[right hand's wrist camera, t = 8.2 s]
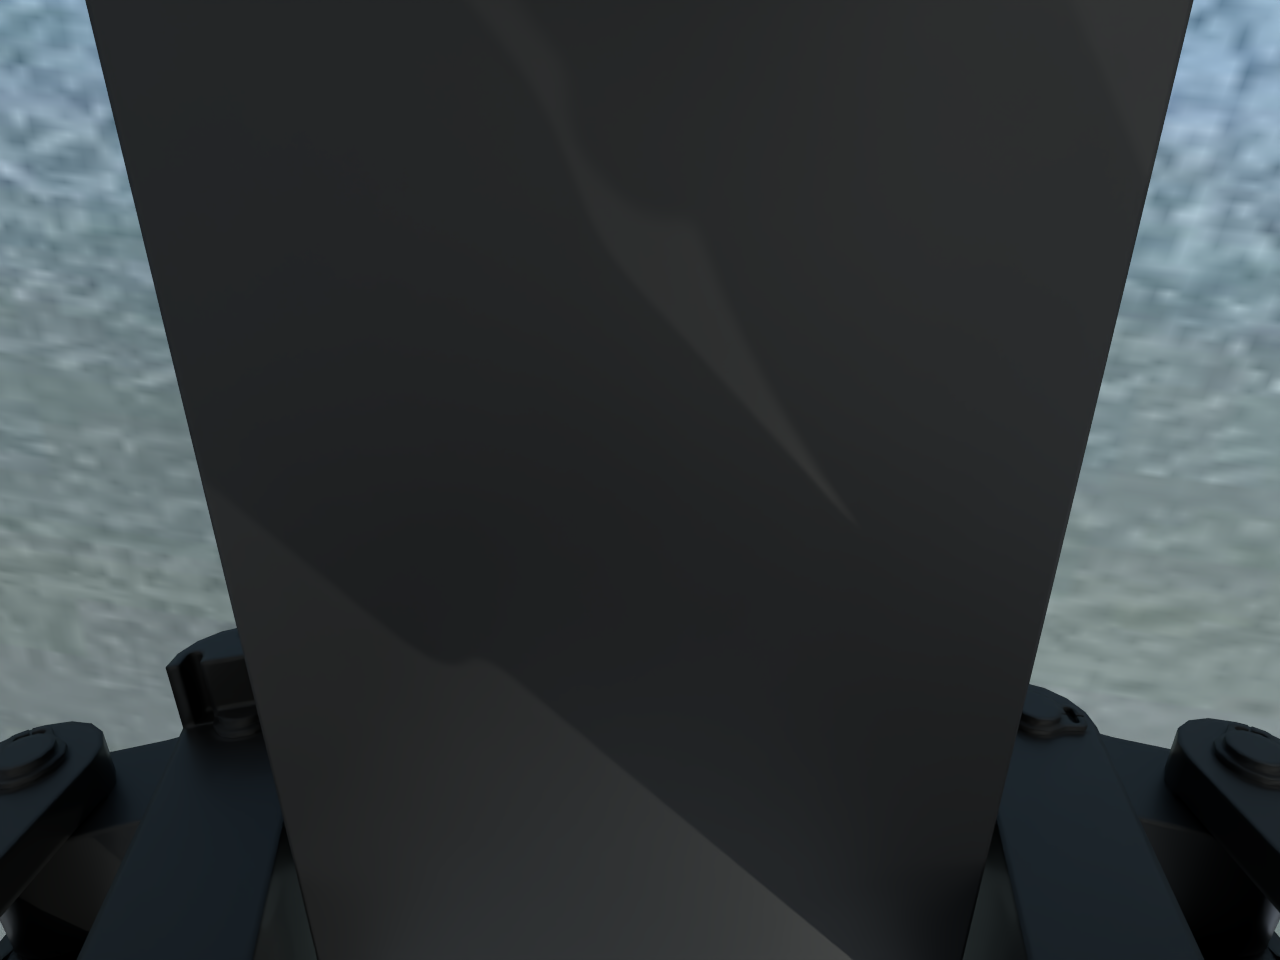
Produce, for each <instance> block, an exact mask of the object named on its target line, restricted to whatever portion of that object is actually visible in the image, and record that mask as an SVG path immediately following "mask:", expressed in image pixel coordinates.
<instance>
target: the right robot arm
mask: <svg viewBox="0 0 1280 960" xmlns="http://www.w3.org/2000/svg"><path fill="white" fill-rule="evenodd" d="M166 670H167V674H168V677H169V681H170V684H171V688H172V691H173V694H174V698H175V701H176V705H177V708H178V712H179V715H180V718H181V722H182V725H183V730H182V732H181V734H180V736H179V737H177V738H174V739H170V740H166V741H161V742H157V743H152V744H147V745H142V746H138V747H133V748H128V749H123V750H118V751H114V752H109V749H108V746H107V743H106V740H105V737H104V735H103V732H102V731H101V730H100V729H98V728H97V727H96V726H94V725H93V724H91V723H82V722H73V721H71V722H64V723H57V724H51V725H44V726H40V727H36V728H33V729H32V730H26V731H24V732H21V733H18V734H15V735H13V736H12V737H10V738H9V739H7V740H5V741H2V742H0V921H1V923H2V926H3V928H4V930H5V932H6V935H5V936H4V937H3V939H2V940H1V941H0V960H317V957H316V953H315V948H314V944H313V940H312V936H311V932H310V928H309V924H308V919H307V915H306V911H305V907H304V903H303V899H302V895H301V890H300V886H299V882H298V878H297V874H296V870H295V866H294V862H293V857H292V853H291V849H290V845H289V841H288V837H287V833H286V828H285V824H284V820H283V816H282V812H281V808H280V804H279V799H278V795H277V791H276V787H275V783H274V779H273V775H272V770H271V766H270V762H269V758H268V754H267V750H266V746H265V741H264V737H263V733H262V729H261V725H260V721H259V717H258V713H257V708H256V704H255V700H254V696H253V692H252V688H251V684H250V679H249V675H248V671H247V667H246V663H245V659H244V655H243V650H242V646H241V642H240V638H239V634H238V630H237V628H236V629H231V630H227V631H222V632H220V633H217V634H215V635H212V636H210V637H207V638H205V639H202V640H200V641H197V642H196V643H194V644H193V645H191V646H189V647H188V648H186V649H185V650H183V651H182V652H180V653H178V654H177V655H176V657H175V658H174V659H173V660H172V661H171V662H170V663H169V664H168V665H167V667H166ZM1279 920H1280V739H1279V738H1277V737H1275V736H1273V735H1271V734H1269V733H1268V732H1266V731H1263V730H1260V729H1258V728H1255V727H1249V726H1248V725H1245V724H1241V723H1237V722H1231V721H1224V720H1218V719H1211V718H1206V719H1197V720H1189V721H1187V722H1186V723H1185V724H1183V725H1182V726H1180V727H1179V728H1178V730H1177V733H1176V736H1175V739H1174V741H1173V744H1172V747H1171V749H1167V748H1162V747H1157V746H1152V745H1147V744H1143V743H1138V742H1133V741H1128V740H1123V739H1119V738H1114V737H1110V736H1106V735H1103V734H1100V733H1099V731H1098V729H1097V727H1096V725H1095V724H1094V723H1093V722H1092V720H1091V719H1090V718H1089V716H1088V715H1087V714H1086V712H1084V711H1083V710H1082V709H1080V708H1079V707H1078V706H1076V705H1075V704H1074V703H1072V702H1071V701H1070V700H1068V699H1067V698H1065V697H1062V696H1060V695H1058V694H1056V693H1054V692H1052V691H1049V690H1047V689H1045V688H1042V687H1038V686H1034V685H1031V684H1029V686H1028V690H1027V694H1026V698H1025V702H1024V707H1023V711H1022V715H1021V719H1020V723H1019V727H1018V732H1017V736H1016V740H1015V744H1014V748H1013V752H1012V756H1011V761H1010V765H1009V769H1008V773H1007V777H1006V781H1005V786H1004V790H1003V794H1002V798H1001V802H1000V806H999V811H998V815H997V819H996V823H995V827H994V831H993V835H992V840H991V844H990V848H989V852H988V856H987V860H986V865H985V869H984V873H983V877H982V881H981V885H980V890H979V894H978V898H977V902H976V906H975V910H974V914H973V919H972V923H971V927H970V931H969V935H968V939H967V944H966V948H965V952H964V956H963V960H1280V937H1279V936H1278V935H1277V934H1276V933H1275V931H1274V930H1275V928H1276V926H1277V924H1278V922H1279Z"/></svg>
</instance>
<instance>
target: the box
mask: <svg viewBox="0 0 1280 960" xmlns="http://www.w3.org/2000/svg"><path fill="white" fill-rule="evenodd" d="M85 1H86V5H87V9H88V13H89V17H90V21H91V25H92V30H93V34H94V38H95V42H96V46H97V50H98V54H99V59H100V63H101V67H102V71H103V75H104V79H105V83H106V88H107V92H108V96H109V100H110V104H111V108H112V112H113V117H114V121H115V125H116V129H117V133H118V137H119V141H120V145H121V150H122V154H123V158H124V162H125V166H126V170H127V174H128V179H129V183H130V187H131V191H132V195H133V199H134V203H135V208H136V212H137V216H138V220H139V224H140V228H141V232H142V237H143V241H144V245H145V249H146V253H147V257H148V261H149V266H150V270H151V274H152V278H153V282H154V286H155V290H156V294H157V299H158V303H159V307H160V311H161V315H162V319H163V323H164V328H165V332H166V336H167V340H168V344H169V348H170V352H171V357H172V361H173V365H174V369H175V373H176V377H177V381H178V386H179V390H180V394H181V398H182V402H183V406H184V410H185V415H186V419H187V423H188V427H189V431H190V435H191V439H192V443H193V448H194V452H195V456H196V460H197V464H198V468H199V472H200V477H201V481H202V485H203V489H204V493H205V497H206V501H207V506H208V510H209V514H210V518H211V522H212V526H213V530H214V535H215V539H216V543H217V547H218V551H219V555H220V559H221V564H222V568H223V572H224V576H225V580H226V584H227V588H228V592H229V597H230V601H231V605H232V609H233V613H234V617H235V621H236V626H237V630H238V634H239V638H240V642H241V646H242V650H243V655H244V659H245V663H246V667H247V671H248V675H249V679H250V684H251V688H252V692H253V696H254V700H255V704H256V708H257V713H258V717H259V721H260V725H261V729H262V733H263V737H264V741H265V746H266V750H267V754H268V758H269V762H270V766H271V770H272V775H273V779H274V783H275V787H276V791H277V795H278V799H279V804H280V808H281V812H282V816H283V820H284V824H285V828H286V833H287V837H288V841H289V845H290V849H291V853H292V857H293V862H294V866H295V870H296V874H297V878H298V882H299V886H300V890H301V895H302V899H303V903H304V907H305V911H306V915H307V919H308V924H309V928H310V932H311V936H312V940H313V944H314V948H315V953H316V957H317V960H963V956H964V952H965V948H966V944H967V939H968V935H969V931H970V927H971V923H972V919H973V914H974V910H975V906H976V902H977V898H978V894H979V890H980V885H981V881H982V877H983V873H984V869H985V865H986V860H987V856H988V852H989V848H990V844H991V840H992V835H993V831H994V827H995V823H996V819H997V815H998V811H999V806H1000V802H1001V798H1002V794H1003V790H1004V786H1005V781H1006V777H1007V773H1008V769H1009V765H1010V761H1011V756H1012V752H1013V748H1014V744H1015V740H1016V736H1017V732H1018V727H1019V723H1020V719H1021V715H1022V711H1023V707H1024V702H1025V698H1026V694H1027V690H1028V686H1029V682H1030V677H1031V673H1032V669H1033V665H1034V661H1035V657H1036V653H1037V648H1038V644H1039V640H1040V636H1041V632H1042V628H1043V623H1044V619H1045V615H1046V611H1047V607H1048V603H1049V599H1050V594H1051V590H1052V586H1053V582H1054V578H1055V574H1056V569H1057V565H1058V561H1059V557H1060V553H1061V549H1062V544H1063V540H1064V536H1065V532H1066V528H1067V524H1068V520H1069V515H1070V511H1071V507H1072V503H1073V499H1074V495H1075V490H1076V486H1077V482H1078V478H1079V474H1080V470H1081V465H1082V461H1083V457H1084V453H1085V449H1086V445H1087V441H1088V436H1089V432H1090V428H1091V424H1092V420H1093V416H1094V411H1095V407H1096V403H1097V399H1098V395H1099V391H1100V386H1101V382H1102V378H1103V374H1104V370H1105V366H1106V362H1107V357H1108V353H1109V349H1110V345H1111V341H1112V337H1113V332H1114V328H1115V324H1116V320H1117V316H1118V312H1119V308H1120V303H1121V299H1122V295H1123V291H1124V287H1125V283H1126V278H1127V274H1128V270H1129V266H1130V262H1131V258H1132V253H1133V249H1134V245H1135V241H1136V237H1137V233H1138V229H1139V224H1140V220H1141V216H1142V212H1143V208H1144V204H1145V199H1146V195H1147V191H1148V187H1149V183H1150V179H1151V174H1152V170H1153V166H1154V162H1155V158H1156V154H1157V150H1158V145H1159V141H1160V137H1161V133H1162V129H1163V125H1164V120H1165V116H1166V112H1167V108H1168V104H1169V100H1170V95H1171V91H1172V87H1173V83H1174V79H1175V75H1176V71H1177V66H1178V62H1179V58H1180V54H1181V50H1182V46H1183V41H1184V37H1185V33H1186V29H1187V25H1188V21H1189V17H1190V12H1191V8H1192V4H1193V0H85Z"/></svg>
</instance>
